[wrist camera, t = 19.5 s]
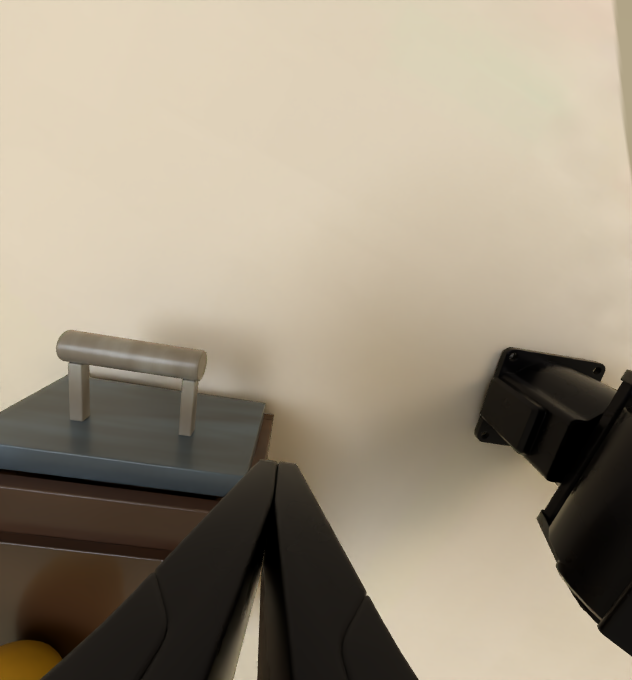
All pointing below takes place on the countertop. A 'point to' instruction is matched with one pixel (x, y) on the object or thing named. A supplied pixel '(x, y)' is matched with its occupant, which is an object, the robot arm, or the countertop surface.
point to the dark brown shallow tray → (65, 586)
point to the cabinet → (106, 509)
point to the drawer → (131, 424)
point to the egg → (27, 660)
